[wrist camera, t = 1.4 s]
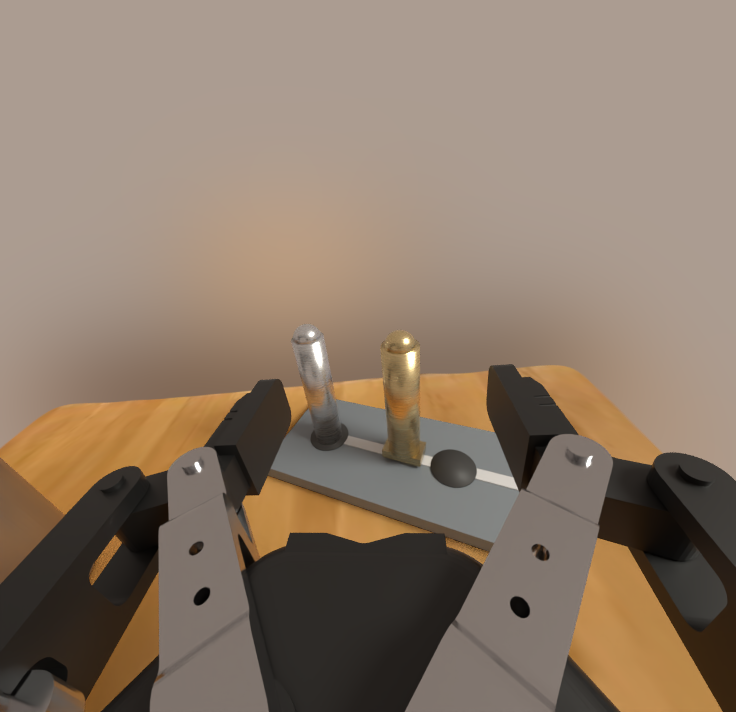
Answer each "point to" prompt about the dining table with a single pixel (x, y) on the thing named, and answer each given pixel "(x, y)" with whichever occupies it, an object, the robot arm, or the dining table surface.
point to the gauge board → (406, 473)
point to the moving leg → (402, 398)
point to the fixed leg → (317, 383)
